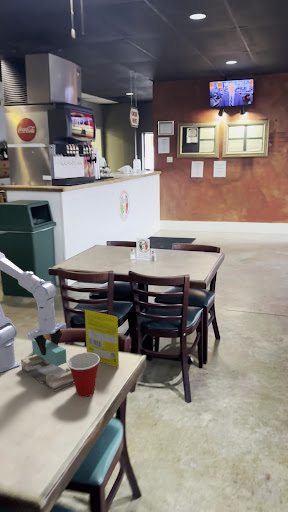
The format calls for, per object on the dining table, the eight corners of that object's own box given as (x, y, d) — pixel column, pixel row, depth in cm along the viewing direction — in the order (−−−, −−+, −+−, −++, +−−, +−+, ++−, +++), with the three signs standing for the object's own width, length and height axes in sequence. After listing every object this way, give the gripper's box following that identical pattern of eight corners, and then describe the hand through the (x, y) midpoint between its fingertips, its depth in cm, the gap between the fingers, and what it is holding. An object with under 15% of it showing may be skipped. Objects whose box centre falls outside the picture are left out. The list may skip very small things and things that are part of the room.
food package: (119, 366, 164) (118, 316, 159) (117, 368, 163) (116, 317, 158) (87, 357, 172) (85, 309, 167) (86, 358, 171) (83, 310, 167)
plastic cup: (61, 393, 146) (59, 359, 143) (86, 381, 154) (85, 349, 151) (82, 405, 139) (81, 370, 136) (107, 391, 146) (106, 358, 144)
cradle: (21, 369, 163) (21, 359, 162) (45, 360, 169) (44, 351, 169) (53, 391, 147) (53, 380, 146) (78, 380, 154) (77, 370, 153)
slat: (32, 352, 162) (31, 339, 161) (42, 349, 165) (41, 336, 164) (56, 366, 151) (55, 352, 150) (66, 362, 153) (65, 349, 152)
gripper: (34, 325, 146) (36, 362, 149) (70, 314, 156) (72, 349, 159) (23, 319, 151) (26, 356, 154) (59, 309, 161) (61, 344, 164)
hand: (48, 352), depth 157 cm, fingers closed on slat, 4 cm apart
